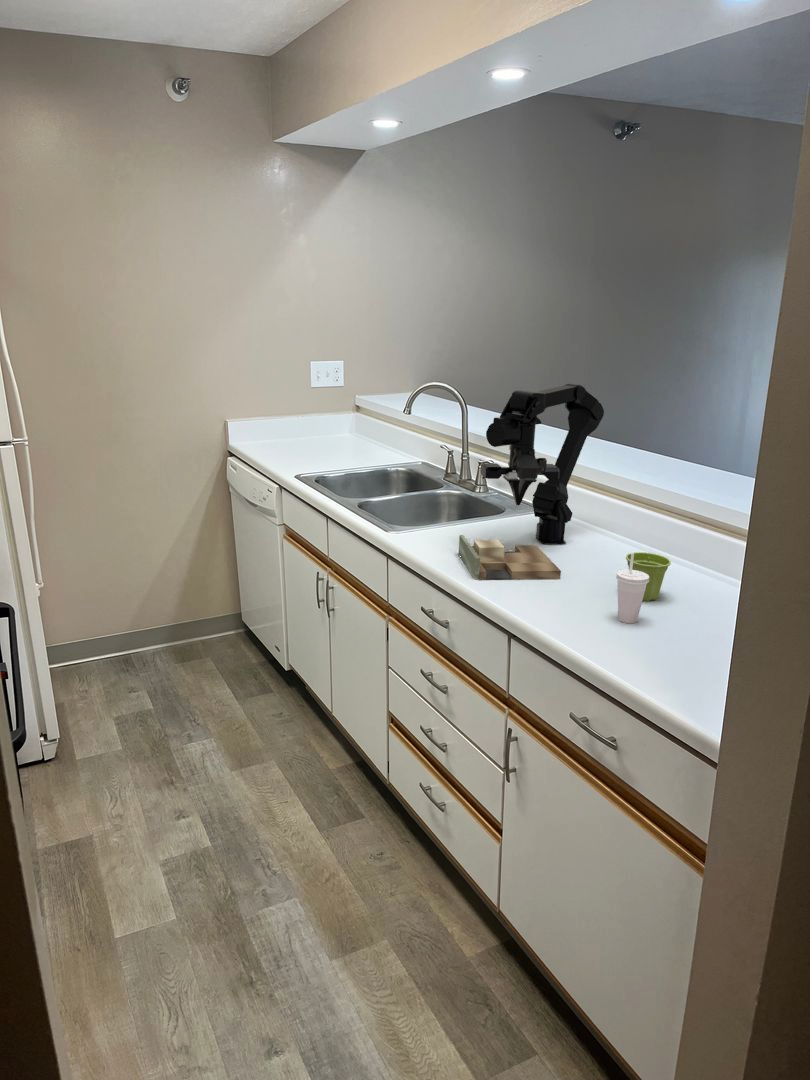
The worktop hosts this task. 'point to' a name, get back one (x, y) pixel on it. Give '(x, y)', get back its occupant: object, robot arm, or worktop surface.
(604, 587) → the worktop surface
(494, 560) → the birch block
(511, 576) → the board
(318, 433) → the worktop surface
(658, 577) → the plant pot
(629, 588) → the smoothie
